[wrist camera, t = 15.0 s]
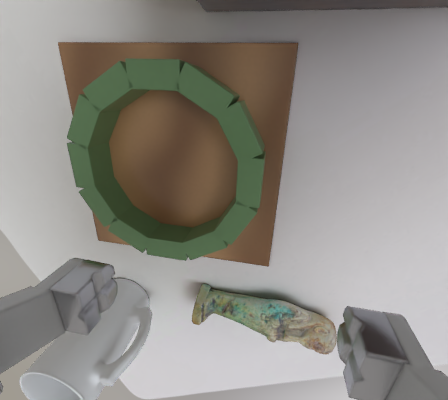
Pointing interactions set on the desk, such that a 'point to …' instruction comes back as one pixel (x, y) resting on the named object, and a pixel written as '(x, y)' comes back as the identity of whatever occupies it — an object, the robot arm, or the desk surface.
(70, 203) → the desk surface
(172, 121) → the cork mat
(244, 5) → the peg plinth
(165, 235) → the ring
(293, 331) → the figurine
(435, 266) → the desk surface
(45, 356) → the mug
